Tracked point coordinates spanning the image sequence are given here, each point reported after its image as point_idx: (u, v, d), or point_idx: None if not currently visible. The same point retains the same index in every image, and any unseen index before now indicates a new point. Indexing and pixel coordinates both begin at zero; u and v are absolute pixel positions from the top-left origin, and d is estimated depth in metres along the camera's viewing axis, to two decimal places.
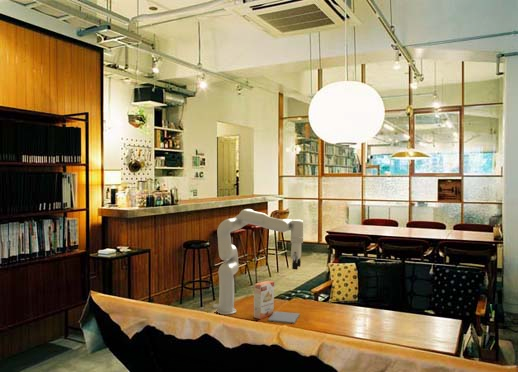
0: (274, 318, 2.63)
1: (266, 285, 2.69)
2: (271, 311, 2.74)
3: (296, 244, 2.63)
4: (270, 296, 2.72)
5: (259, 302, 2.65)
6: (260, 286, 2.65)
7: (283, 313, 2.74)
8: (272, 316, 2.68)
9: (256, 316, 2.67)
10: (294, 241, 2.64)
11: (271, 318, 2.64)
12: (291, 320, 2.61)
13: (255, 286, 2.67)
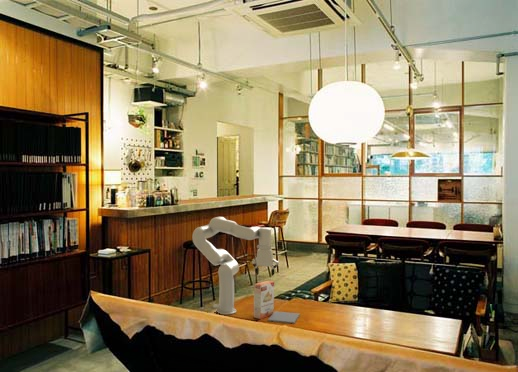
0: (274, 318, 2.63)
1: (266, 285, 2.69)
2: (271, 311, 2.74)
3: None
4: (270, 296, 2.72)
5: (259, 302, 2.65)
6: (260, 286, 2.65)
7: (283, 313, 2.74)
8: (272, 316, 2.68)
9: (256, 316, 2.67)
10: (270, 248, 2.70)
11: (271, 318, 2.64)
12: (291, 320, 2.61)
13: (255, 286, 2.67)
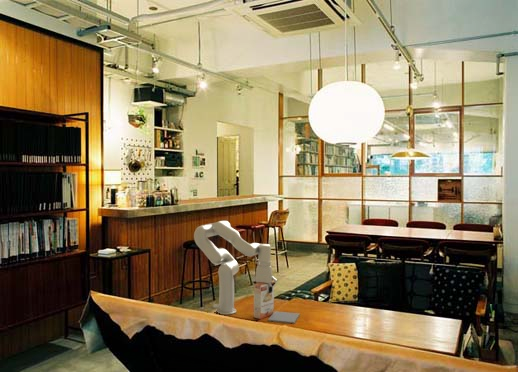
0: (274, 318, 2.63)
1: (266, 285, 2.69)
2: (271, 311, 2.74)
3: (271, 267, 2.71)
4: (270, 296, 2.72)
5: (259, 302, 2.65)
6: (260, 286, 2.65)
7: (283, 313, 2.74)
8: (272, 316, 2.68)
9: (256, 316, 2.66)
10: (269, 265, 2.70)
11: (271, 318, 2.64)
12: (291, 320, 2.61)
13: (255, 286, 2.67)
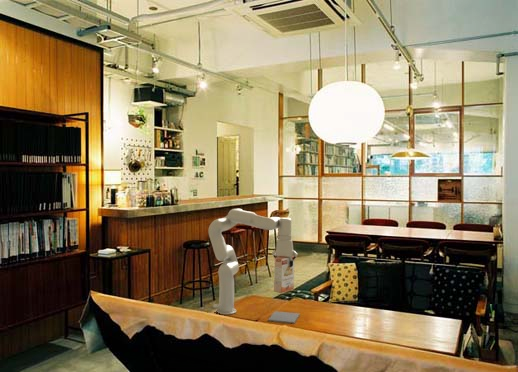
0: (274, 318, 2.63)
1: (287, 259, 2.65)
2: (291, 286, 2.70)
3: None
4: (290, 270, 2.68)
5: (280, 276, 2.62)
6: (281, 259, 2.62)
7: (283, 313, 2.74)
8: (272, 316, 2.68)
9: (277, 290, 2.63)
10: (290, 239, 2.66)
11: (271, 318, 2.64)
12: (291, 320, 2.61)
13: (276, 260, 2.64)
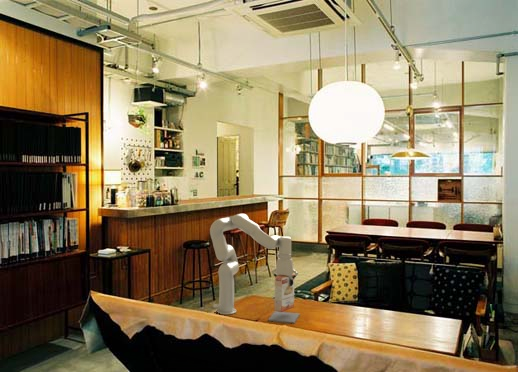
0: (274, 318, 2.63)
1: (287, 278, 2.65)
2: (292, 304, 2.70)
3: None
4: (290, 289, 2.68)
5: (280, 295, 2.62)
6: (281, 279, 2.62)
7: (283, 313, 2.74)
8: (272, 316, 2.68)
9: (277, 309, 2.63)
10: (290, 258, 2.66)
11: (271, 318, 2.64)
12: (291, 320, 2.61)
13: (276, 279, 2.64)
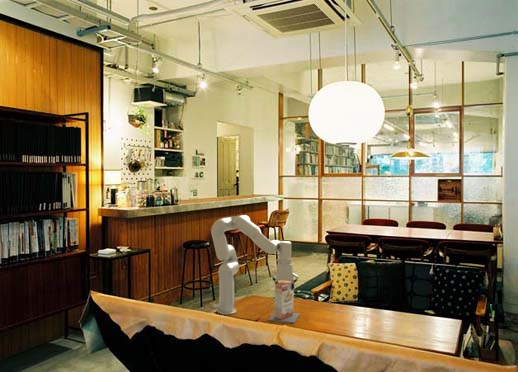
0: (274, 318, 2.63)
1: (287, 285, 2.65)
2: (291, 311, 2.70)
3: None
4: (290, 296, 2.68)
5: (280, 302, 2.62)
6: (281, 286, 2.62)
7: None
8: (272, 316, 2.68)
9: (277, 316, 2.63)
10: (290, 262, 2.66)
11: (271, 318, 2.64)
12: (291, 320, 2.61)
13: (276, 286, 2.64)
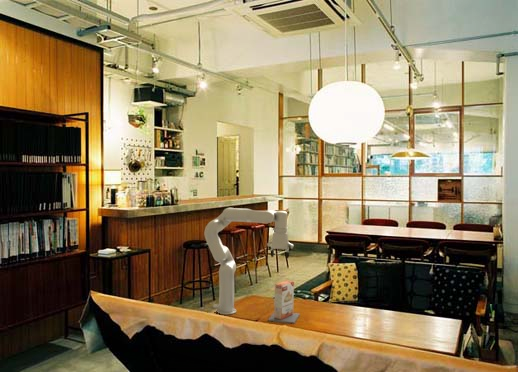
0: (274, 318, 2.63)
1: (287, 285, 2.65)
2: (291, 311, 2.71)
3: (287, 234, 2.75)
4: (290, 296, 2.69)
5: (280, 302, 2.62)
6: (281, 286, 2.62)
7: None
8: (272, 316, 2.68)
9: (277, 316, 2.63)
10: (285, 231, 2.74)
11: (271, 318, 2.64)
12: (291, 320, 2.61)
13: (276, 286, 2.64)
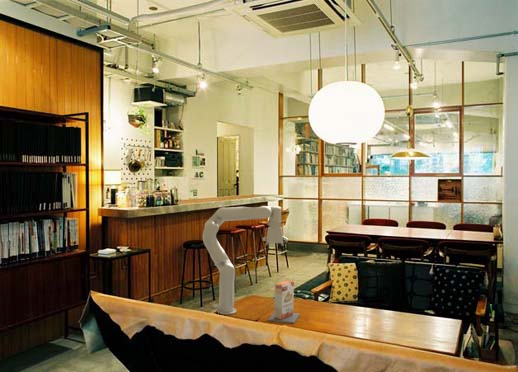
0: (274, 318, 2.63)
1: (287, 285, 2.65)
2: (291, 311, 2.70)
3: None
4: (290, 296, 2.69)
5: (280, 302, 2.62)
6: (281, 286, 2.62)
7: None
8: (272, 316, 2.68)
9: (277, 316, 2.63)
10: (280, 226, 2.83)
11: (271, 318, 2.64)
12: (291, 320, 2.61)
13: (276, 286, 2.64)
